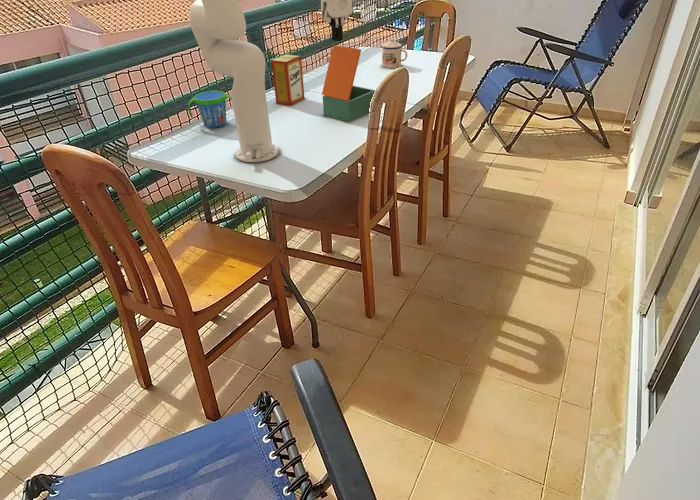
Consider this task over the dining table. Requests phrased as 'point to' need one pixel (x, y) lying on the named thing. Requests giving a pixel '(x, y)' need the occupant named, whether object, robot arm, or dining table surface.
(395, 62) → the teacup with lid
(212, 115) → the snack cup
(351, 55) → the lid
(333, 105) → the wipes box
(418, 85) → the dining table surface
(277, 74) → the baking soda box
